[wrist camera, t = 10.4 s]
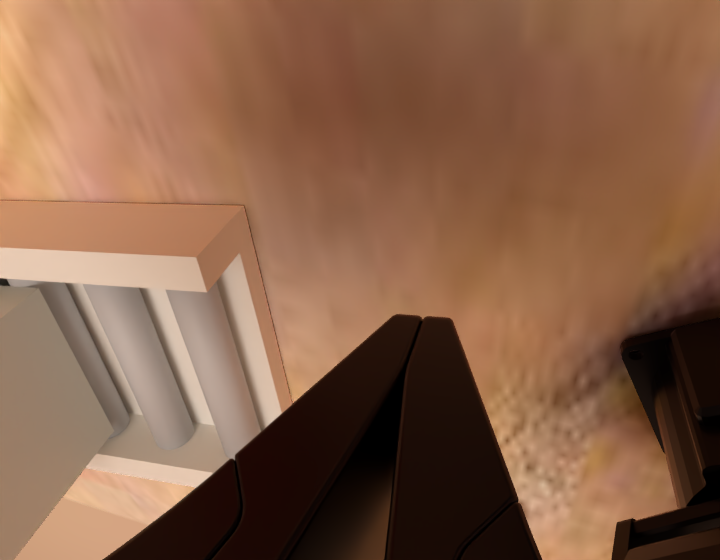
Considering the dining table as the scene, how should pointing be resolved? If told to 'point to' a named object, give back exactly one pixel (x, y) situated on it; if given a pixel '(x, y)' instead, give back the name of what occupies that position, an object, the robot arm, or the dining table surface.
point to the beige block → (40, 417)
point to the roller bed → (156, 325)
